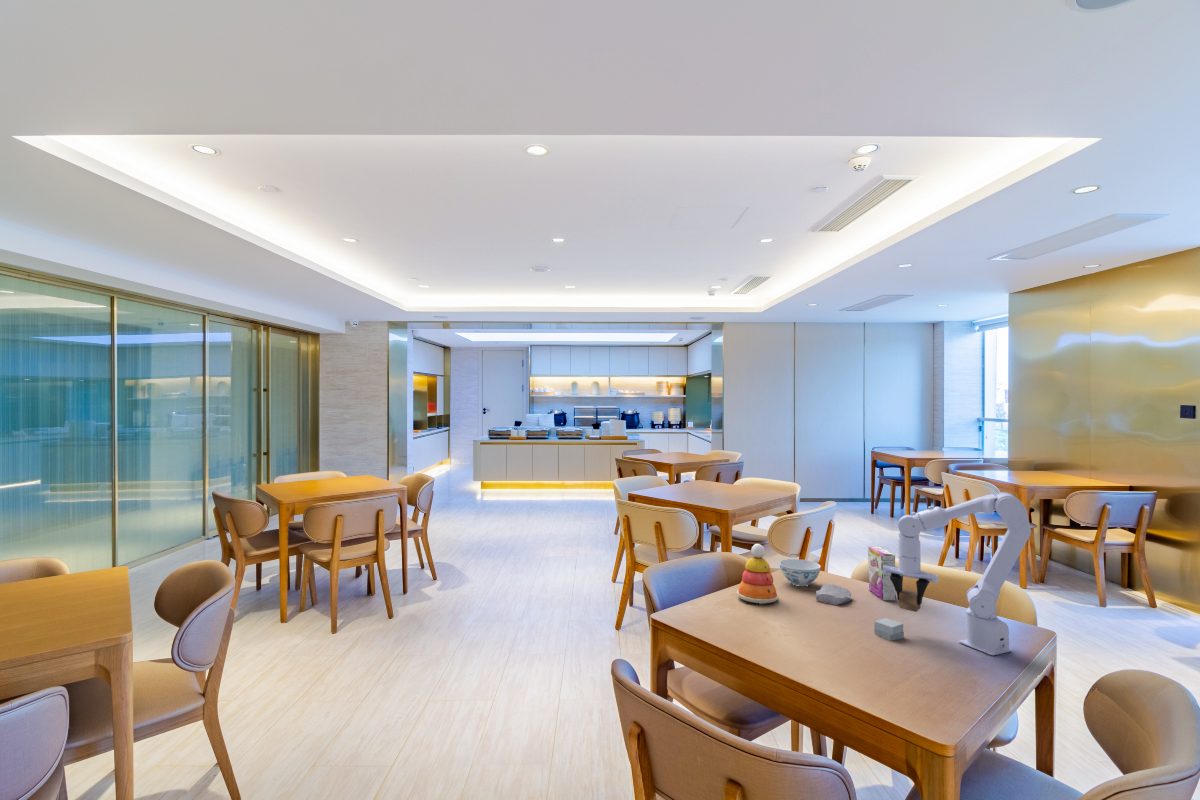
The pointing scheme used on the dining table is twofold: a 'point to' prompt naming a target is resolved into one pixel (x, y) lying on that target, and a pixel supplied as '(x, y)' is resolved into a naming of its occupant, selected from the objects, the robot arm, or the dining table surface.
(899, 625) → the tower top
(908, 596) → the walnut cube
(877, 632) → the tower base
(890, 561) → the candy bar box
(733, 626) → the dining table surface
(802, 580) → the chinaware
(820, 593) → the stone block
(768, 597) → the stacking toy
